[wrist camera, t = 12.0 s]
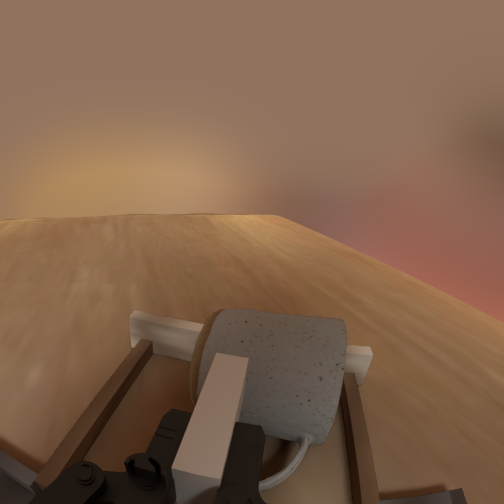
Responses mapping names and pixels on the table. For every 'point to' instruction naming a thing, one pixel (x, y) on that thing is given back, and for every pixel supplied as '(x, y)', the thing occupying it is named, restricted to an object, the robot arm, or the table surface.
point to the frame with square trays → (182, 347)
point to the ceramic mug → (278, 373)
